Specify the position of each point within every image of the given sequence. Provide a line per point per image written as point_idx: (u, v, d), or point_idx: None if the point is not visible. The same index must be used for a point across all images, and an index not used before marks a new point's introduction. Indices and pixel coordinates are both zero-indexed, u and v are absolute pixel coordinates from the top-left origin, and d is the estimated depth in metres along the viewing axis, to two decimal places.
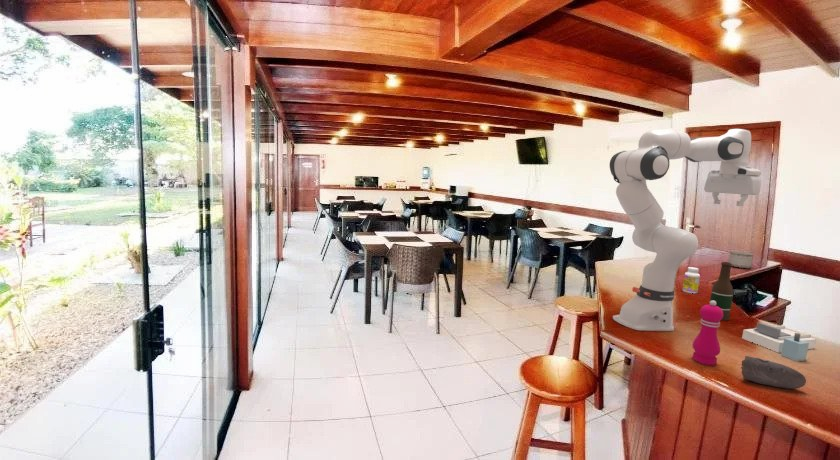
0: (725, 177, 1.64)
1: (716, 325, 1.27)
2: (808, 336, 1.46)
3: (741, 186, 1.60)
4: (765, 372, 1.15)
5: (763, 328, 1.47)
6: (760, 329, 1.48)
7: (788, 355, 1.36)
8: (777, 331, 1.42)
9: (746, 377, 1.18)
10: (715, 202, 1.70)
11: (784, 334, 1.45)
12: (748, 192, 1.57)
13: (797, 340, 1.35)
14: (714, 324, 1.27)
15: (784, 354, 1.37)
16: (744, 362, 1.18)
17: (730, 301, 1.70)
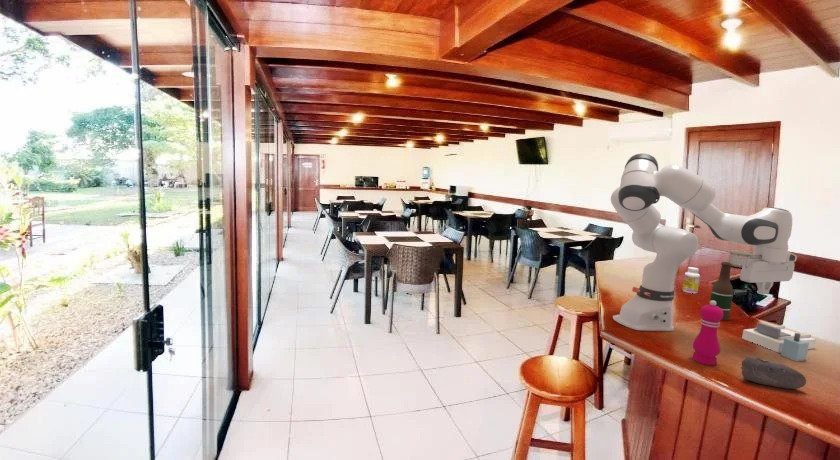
0: (777, 265, 1.38)
1: (716, 325, 1.27)
2: (808, 336, 1.46)
3: (783, 273, 1.41)
4: (765, 372, 1.15)
5: (763, 328, 1.47)
6: (760, 329, 1.48)
7: (788, 355, 1.36)
8: (777, 331, 1.42)
9: (746, 377, 1.18)
10: (764, 292, 1.41)
11: (784, 334, 1.45)
12: (789, 278, 1.42)
13: (797, 340, 1.35)
14: (714, 324, 1.27)
15: (784, 354, 1.37)
16: (744, 362, 1.18)
17: (730, 301, 1.70)
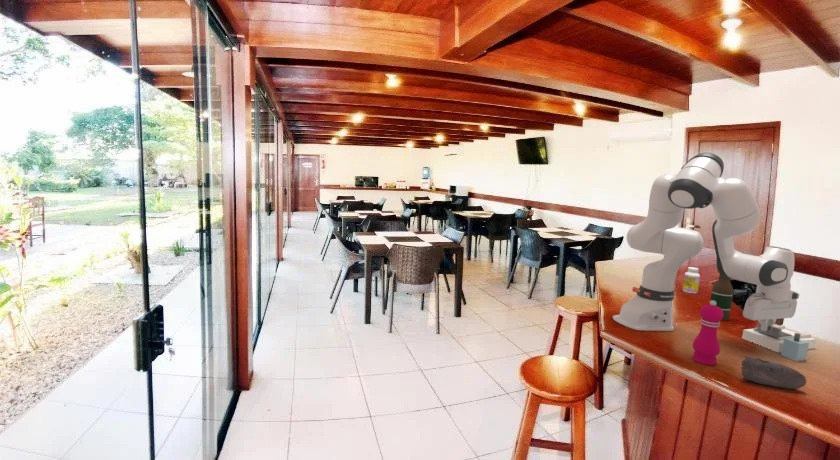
0: (780, 303, 1.41)
1: (716, 325, 1.27)
2: (808, 336, 1.46)
3: (786, 310, 1.44)
4: (765, 372, 1.15)
5: None
6: None
7: (788, 355, 1.36)
8: (778, 331, 1.43)
9: (746, 377, 1.18)
10: (767, 329, 1.44)
11: (785, 334, 1.45)
12: (791, 315, 1.45)
13: (797, 340, 1.35)
14: (714, 324, 1.27)
15: (784, 354, 1.37)
16: (744, 362, 1.18)
17: (730, 301, 1.70)
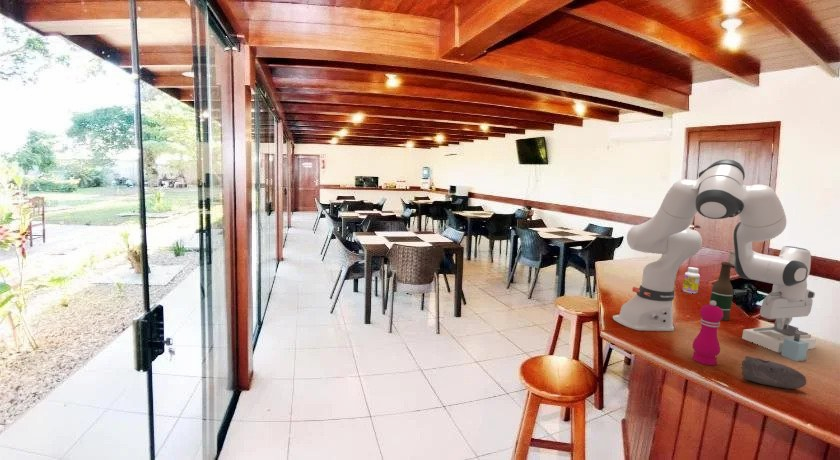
0: (796, 302, 1.43)
1: (716, 325, 1.27)
2: (808, 336, 1.46)
3: (802, 309, 1.46)
4: (765, 372, 1.15)
5: None
6: None
7: (788, 355, 1.36)
8: (795, 330, 1.45)
9: (746, 377, 1.18)
10: (783, 328, 1.47)
11: (802, 332, 1.47)
12: (807, 314, 1.47)
13: (797, 340, 1.35)
14: (714, 324, 1.27)
15: (784, 354, 1.37)
16: (744, 362, 1.18)
17: (730, 301, 1.70)
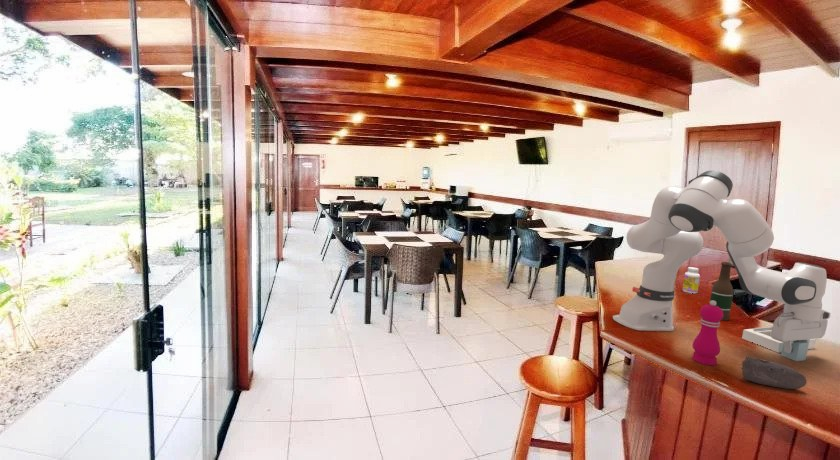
0: (810, 323, 1.32)
1: (716, 325, 1.27)
2: None
3: (816, 330, 1.35)
4: (765, 372, 1.15)
5: None
6: None
7: (788, 355, 1.36)
8: None
9: (747, 377, 1.18)
10: (791, 351, 1.35)
11: None
12: (821, 335, 1.36)
13: (797, 340, 1.35)
14: (714, 324, 1.27)
15: (784, 354, 1.37)
16: (745, 362, 1.18)
17: (730, 301, 1.70)
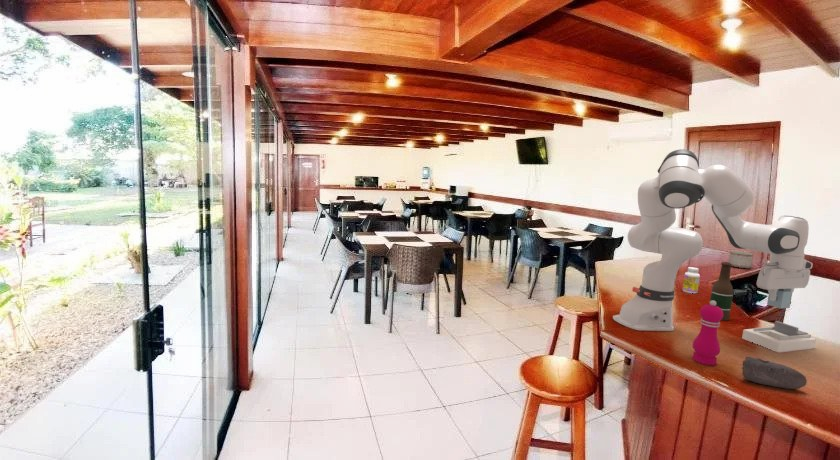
0: (793, 272, 1.40)
1: (716, 325, 1.27)
2: (808, 336, 1.46)
3: (799, 280, 1.44)
4: (765, 372, 1.15)
5: (781, 326, 1.49)
6: (777, 327, 1.50)
7: (773, 303, 1.45)
8: (795, 330, 1.45)
9: (747, 377, 1.18)
10: (776, 299, 1.43)
11: (802, 332, 1.47)
12: (804, 285, 1.45)
13: (782, 289, 1.44)
14: (714, 324, 1.27)
15: (770, 303, 1.46)
16: (745, 362, 1.18)
17: (730, 301, 1.70)
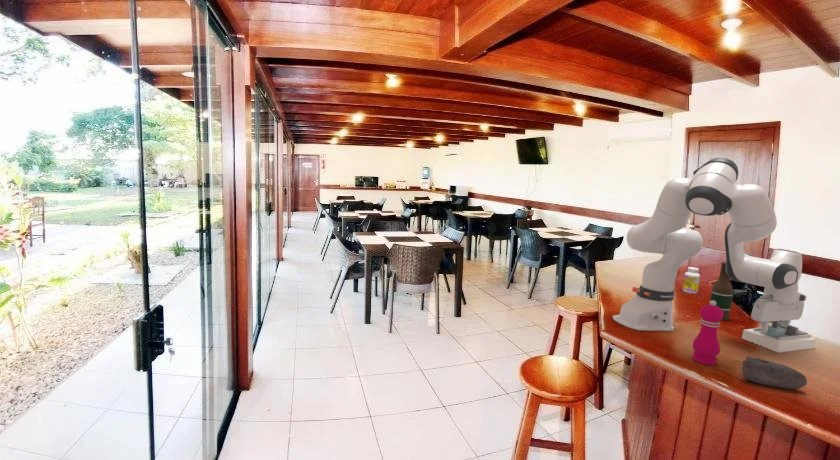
0: (787, 305, 1.42)
1: (716, 325, 1.27)
2: (808, 336, 1.46)
3: (793, 312, 1.46)
4: (766, 372, 1.15)
5: None
6: None
7: None
8: (795, 330, 1.45)
9: (747, 377, 1.17)
10: (767, 332, 1.45)
11: (802, 332, 1.47)
12: (798, 317, 1.47)
13: (775, 326, 1.46)
14: (714, 324, 1.27)
15: None
16: (745, 362, 1.18)
17: (730, 301, 1.70)
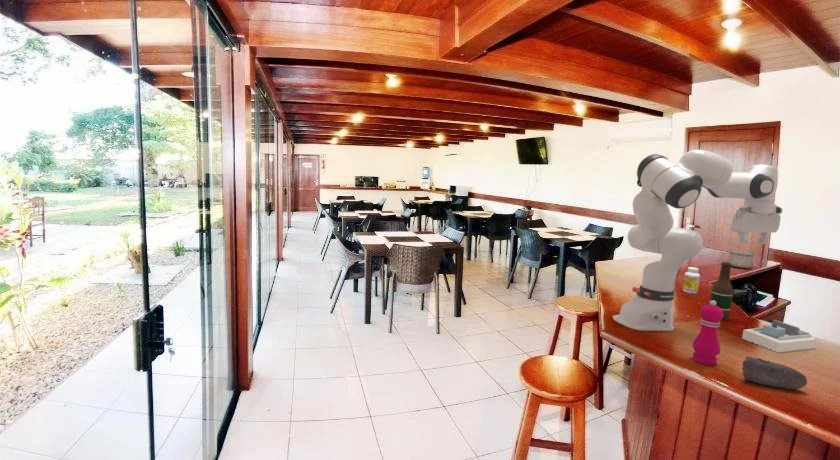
0: (765, 216, 1.52)
1: (716, 325, 1.27)
2: (808, 336, 1.46)
3: (770, 224, 1.56)
4: (766, 372, 1.15)
5: (782, 326, 1.49)
6: None
7: None
8: (796, 329, 1.45)
9: (747, 378, 1.17)
10: (745, 242, 1.55)
11: (803, 332, 1.47)
12: (775, 230, 1.57)
13: (775, 326, 1.46)
14: (714, 324, 1.27)
15: None
16: (745, 362, 1.17)
17: (730, 301, 1.70)
